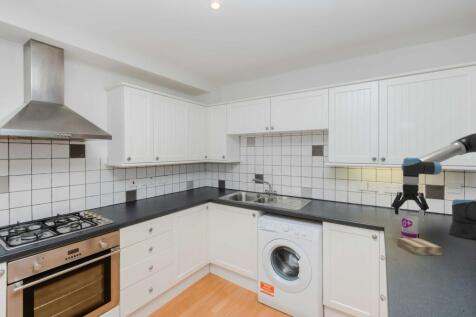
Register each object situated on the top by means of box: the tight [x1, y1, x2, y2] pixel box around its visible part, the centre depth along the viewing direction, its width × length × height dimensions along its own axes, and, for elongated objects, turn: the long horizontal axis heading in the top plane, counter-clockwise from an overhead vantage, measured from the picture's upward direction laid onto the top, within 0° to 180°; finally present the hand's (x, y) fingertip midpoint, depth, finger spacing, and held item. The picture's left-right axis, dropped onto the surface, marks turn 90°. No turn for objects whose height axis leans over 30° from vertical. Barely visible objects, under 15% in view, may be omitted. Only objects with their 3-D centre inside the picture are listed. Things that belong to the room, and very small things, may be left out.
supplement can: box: [400, 213, 420, 239], centre depth 134 cm, size 8×8×15 cm
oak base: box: [396, 237, 443, 256], centre depth 120 cm, size 13×13×4 cm
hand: (409, 220), depth 134 cm, fingers open, 13 cm apart
